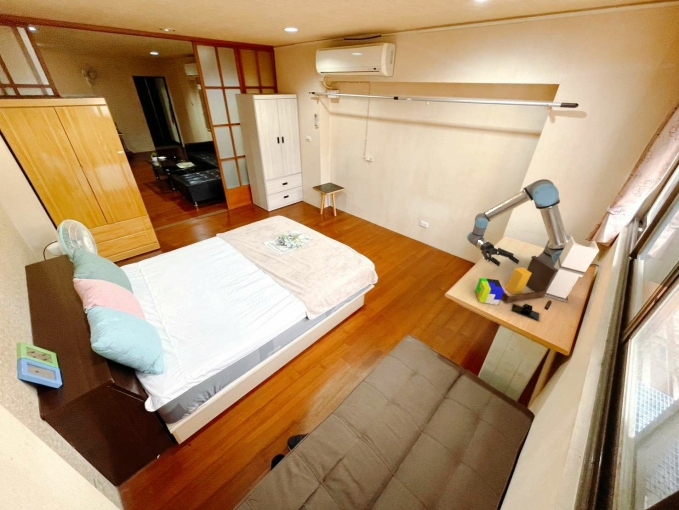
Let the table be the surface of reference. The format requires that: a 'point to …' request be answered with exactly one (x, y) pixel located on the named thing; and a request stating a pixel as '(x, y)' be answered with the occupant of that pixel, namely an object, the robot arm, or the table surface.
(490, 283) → the puzzle toy
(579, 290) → the table surface
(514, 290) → the yellow block
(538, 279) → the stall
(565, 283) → the white stepped block
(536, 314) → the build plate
